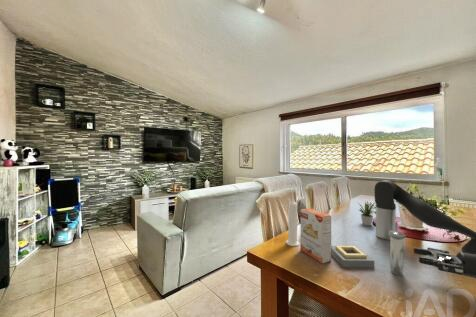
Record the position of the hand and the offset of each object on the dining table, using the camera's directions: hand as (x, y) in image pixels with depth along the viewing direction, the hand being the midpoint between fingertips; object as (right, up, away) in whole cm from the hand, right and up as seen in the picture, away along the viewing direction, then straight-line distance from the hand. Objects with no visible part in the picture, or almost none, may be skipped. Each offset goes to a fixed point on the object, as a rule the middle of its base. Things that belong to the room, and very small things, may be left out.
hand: (416, 254), depth 75 cm
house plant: (+22, -9, +60) cm, 65 cm away
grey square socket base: (-17, -9, +14) cm, 24 cm away
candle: (-39, -9, +30) cm, 50 cm away
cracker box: (-32, -9, +17) cm, 38 cm away
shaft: (-5, -9, +4) cm, 11 cm away
